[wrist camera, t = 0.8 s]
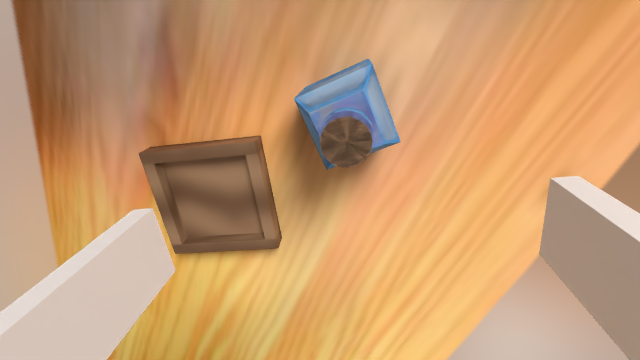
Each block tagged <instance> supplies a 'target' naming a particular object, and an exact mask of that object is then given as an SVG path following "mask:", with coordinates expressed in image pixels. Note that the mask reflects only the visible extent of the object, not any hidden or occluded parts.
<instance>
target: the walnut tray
mask: <svg viewBox="0 0 640 360" xmlns="http://www.w3.org/2000/svg"><path fill="white" fill-rule="evenodd" d="M139 156H140V158H141V161H142V164H143V167H144V169H145V172H146V175H147V178H148V180H149V183H150V186H151V189H152V191H153V194H154V197H155V200H156V202H157V205H158V208H159V211H160V213H161V216H162V219H163V222H164V224H165V227H166V230H167V233H168V235H169V238H170V241H171V244H172V246H173V249H174V252H175V254H180V253H198V252H217V251H236V250H254V249H273V248H278V247H279V244H280V241H281V239H282V236H281V231H280V227H279V222H278V217H277V212H276V207H275V203H274V198H273V193H272V188H271V183H270V179H269V174H268V169H267V164H266V159H265V155H264V150H263V145H262V140H261V136H253V137H243V138H234V139H224V140H215V141H205V142H195V143H186V144H176V145H167V146H157V147H150V148H148V149H146V150H144V151H142V152H140V153H139Z"/></svg>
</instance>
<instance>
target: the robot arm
mask: <svg viewBox="0 0 640 360" xmlns="http://www.w3.org/2000/svg"><path fill="white" fill-rule="evenodd" d="M539 254H540V256H541V257H542V258H543V259H544V260H545V261H546V263H547V264H548V265H549V266H550V267H551V268H552V270H553V271H554V272H555V273H556V274H557V275H558V276H559V278H560V279H561V280H562V281H563V282H564V284H565V285H566V286H567V287H568V288H569V289H570V290H571V292H572V293H573V294H574V295H575V297H576V298H577V299H578V300H579V301H580V302H581V303H582V305H583V306H584V307H585V308H586V309H587V310H588V312H589V313H590V314H591V315H592V316H593V318H594V319H595V320H596V321H597V322H598V323H599V325H600V326H601V327H602V328H603V329H604V330H605V332H606V333H607V334H608V335H609V336H610V338H611V339H612V340H613V341H614V342H615V343H616V345H617V346H618V347H619V348H620V349H621V350H622V352H623V353H624V354H625V355H626V356H627V357H628V359H629V360H640V214H639V213H638V212H636V211H634V210H633V209H631V208H630V207H628V206H626V205H625V204H623V203H621V202H620V201H618V200H617V199H615V198H613V197H612V196H610V195H608V194H607V193H605V192H604V191H602V190H600V189H599V188H597V187H595V186H594V185H592V184H591V183H589V182H587V181H586V180H584V179H582V178H581V177H579V176H572V177H558V178H550V185H549V191H548V198H547V205H546V212H545V218H544V225H543V232H542V238H541V245H540V252H539ZM175 271H176V270H175V267H174V265H173V262H172V259H171V257H170V254H169V251H168V248H167V246H166V243H165V240H164V238H163V235H162V232H161V229H160V227H159V224H158V221H157V218H156V216H155V213H154V210H153V208H149V209H136V210H132V211H131V212H130V213H128V214H127V215H126V216H125V217H123V218H122V219H121V220H119V221H118V222H117V223H115V224H114V225H113V226H112V227H110V228H109V229H108V230H106V231H105V232H104V233H102V234H101V235H100V236H99V237H97V238H96V239H95V240H93V241H92V242H91V243H89V244H88V245H87V246H86V247H84V248H83V249H82V250H80V251H79V252H78V253H76V254H75V255H74V256H73V257H71V258H70V259H69V260H67V261H66V262H65V263H63V264H62V265H61V266H60V267H58V268H57V269H56V270H54V271H53V272H52V273H51V274H49V275H48V276H47V277H45V278H44V279H43V280H41V281H40V282H39V283H38V284H36V285H35V286H34V287H32V288H31V289H30V290H28V291H27V292H26V293H25V294H23V295H22V296H21V297H19V298H18V299H17V300H15V301H14V302H13V303H12V304H10V305H9V306H8V307H6V308H5V309H4V310H2V311H1V312H0V360H107V358H108V357H109V356H110V355H111V353H112V352H113V351H114V349H115V348H116V347H117V345H118V344H119V343H120V342H121V340H122V339H123V338H124V336H125V335H126V334H127V333H128V331H129V330H130V329H131V327H132V326H133V325H134V324H135V322H136V321H137V320H138V318H139V317H140V316H141V315H142V313H143V312H144V311H145V309H146V308H147V307H148V306H149V304H150V303H151V302H152V300H153V299H154V298H155V297H156V295H157V294H158V293H159V291H160V290H161V289H162V287H163V286H164V285H165V284H166V282H167V281H168V280H169V278H170V277H171V276H172V275H173V273H174V272H175Z"/></svg>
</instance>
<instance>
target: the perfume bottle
mask: <svg viewBox="0 0 640 360" xmlns="http://www.w3.org/2000/svg"><path fill="white" fill-rule="evenodd" d="M294 100H295V102H296V104H297V106H298V108H299V110H300V113H301V115H302V117H303V119H304V121H305V123H306V126H307V128H308V130H309V132H310V134H311V136H312V139H313V141H314V143H315V145H316V147H317V149H318V152H319V154H320V156H321V158H322V160H323V162H324V165H325V167H326V169H327V170H328V169H330V168H333V167H336V166H339V167H346V168H349V167H353V166H357V165H358V164H360V163H362V162H363V161H364V160H365V159H366V158H367V157H368V156H369V154H370V153H373V152H375V151H378V150H380V149H383V148H386V147H388V146H391V145H394V144H396V143H399V142H401V141H400V139H399V136H398V133H397V131H396V128H395V125H394V122H393V120H392V117H391V114H390V111H389V109H388V106H387V103H386V100H385V98H384V95H383V92H382V89H381V87H380V84H379V81H378V78H377V76H376V73H375V70H374V67H373V65H372V63H371V61H370V60H369V59H366V60H364V61H362V62H360V63H358V64H355V65H353V66H351V67H349V68H347V69H344V70H342V71H340V72H338V73H336V74H333V75H331V76H329V77H327V78H325V79H322V80H320V81H318V82H316V83H313V84H311V85H309V86H307V87H305V88H304V89H303V90H302V91H301V92H300V93H299V94H298V95H297V96H296V97H295V98H294Z"/></svg>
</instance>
